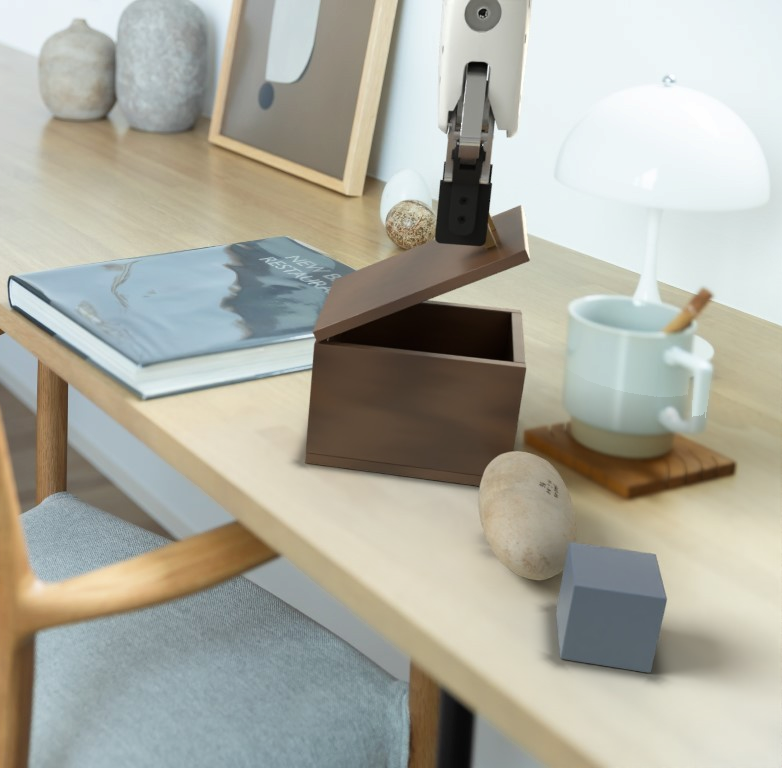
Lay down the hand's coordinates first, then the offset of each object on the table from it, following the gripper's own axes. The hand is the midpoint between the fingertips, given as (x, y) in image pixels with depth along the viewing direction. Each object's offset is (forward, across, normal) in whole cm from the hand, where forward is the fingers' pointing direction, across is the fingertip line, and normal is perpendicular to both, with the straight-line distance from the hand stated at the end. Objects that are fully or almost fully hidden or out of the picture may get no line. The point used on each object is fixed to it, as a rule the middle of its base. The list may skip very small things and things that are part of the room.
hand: (461, 229), depth 78 cm
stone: (+16, -13, -5) cm, 22 cm away
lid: (+3, 0, +2) cm, 4 cm away
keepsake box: (+16, 0, +2) cm, 16 cm away
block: (+16, -22, -10) cm, 29 cm away
